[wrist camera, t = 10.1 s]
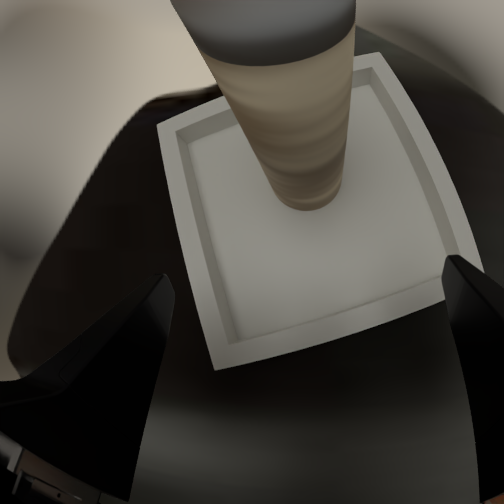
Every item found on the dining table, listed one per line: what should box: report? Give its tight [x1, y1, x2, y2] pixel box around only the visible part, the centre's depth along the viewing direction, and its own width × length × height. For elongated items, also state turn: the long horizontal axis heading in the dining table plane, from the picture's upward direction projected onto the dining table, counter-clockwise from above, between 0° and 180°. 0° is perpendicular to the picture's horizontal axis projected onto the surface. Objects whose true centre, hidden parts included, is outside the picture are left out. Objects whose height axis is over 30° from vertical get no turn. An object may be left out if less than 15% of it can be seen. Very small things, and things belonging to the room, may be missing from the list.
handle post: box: [170, 0, 356, 211], centre depth 12 cm, size 4×4×14 cm
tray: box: [157, 52, 484, 370], centre depth 18 cm, size 16×16×3 cm
